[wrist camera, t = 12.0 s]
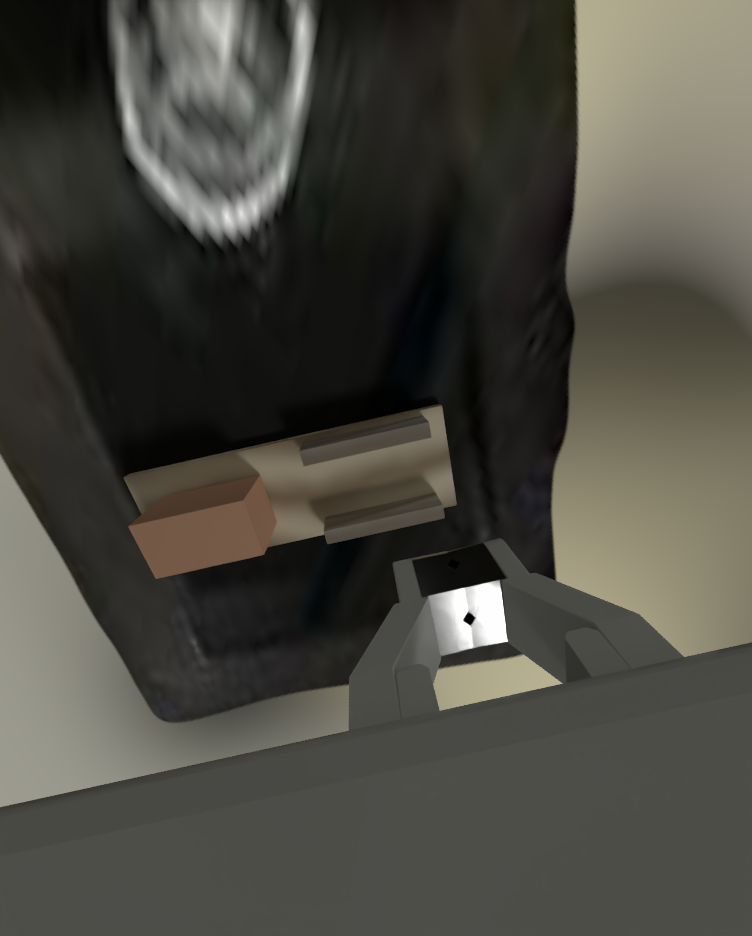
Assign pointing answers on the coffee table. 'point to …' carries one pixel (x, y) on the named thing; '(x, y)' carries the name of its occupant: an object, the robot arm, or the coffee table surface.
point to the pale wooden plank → (331, 477)
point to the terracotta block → (205, 527)
